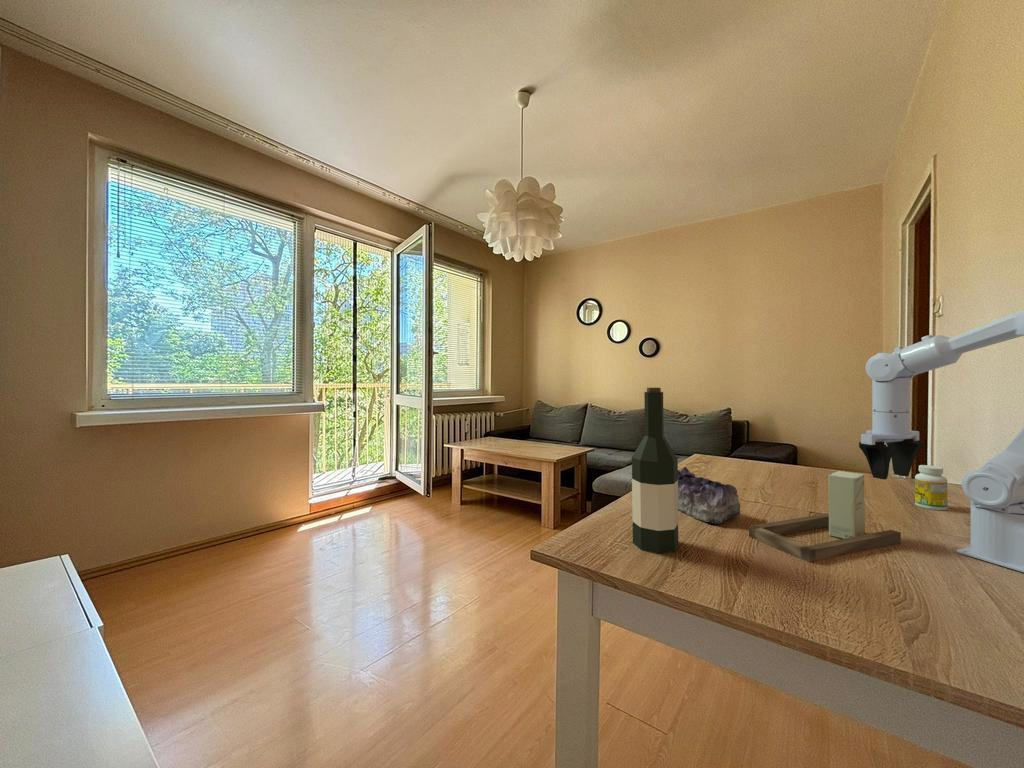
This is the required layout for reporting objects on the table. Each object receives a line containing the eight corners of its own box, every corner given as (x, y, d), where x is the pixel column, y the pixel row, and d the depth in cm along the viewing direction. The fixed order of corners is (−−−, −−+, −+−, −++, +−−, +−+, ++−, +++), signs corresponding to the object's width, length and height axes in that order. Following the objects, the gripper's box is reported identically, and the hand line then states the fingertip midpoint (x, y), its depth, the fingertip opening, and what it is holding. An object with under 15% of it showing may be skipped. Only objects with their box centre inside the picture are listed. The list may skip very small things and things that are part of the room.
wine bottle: (683, 555, 73) (681, 388, 72) (634, 552, 75) (632, 388, 74) (674, 537, 81) (672, 386, 80) (630, 534, 83) (629, 387, 82)
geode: (646, 502, 104) (649, 462, 105) (683, 503, 108) (685, 465, 108) (708, 526, 85) (711, 478, 85) (750, 526, 89) (753, 480, 89)
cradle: (900, 543, 76) (900, 532, 76) (809, 562, 69) (809, 550, 69) (833, 521, 88) (833, 512, 88) (749, 536, 81) (748, 526, 81)
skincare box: (855, 542, 77) (855, 478, 77) (827, 535, 81) (827, 474, 80) (865, 534, 81) (865, 473, 80) (837, 528, 84) (837, 469, 84)
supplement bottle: (953, 511, 93) (953, 470, 93) (923, 509, 95) (923, 468, 94) (938, 504, 98) (938, 465, 98) (909, 502, 100) (909, 463, 99)
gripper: (891, 408, 90) (891, 469, 90) (844, 411, 86) (845, 475, 86) (932, 411, 83) (931, 477, 84) (884, 414, 79) (884, 483, 79)
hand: (890, 476), depth 84 cm, fingers open, 6 cm apart
